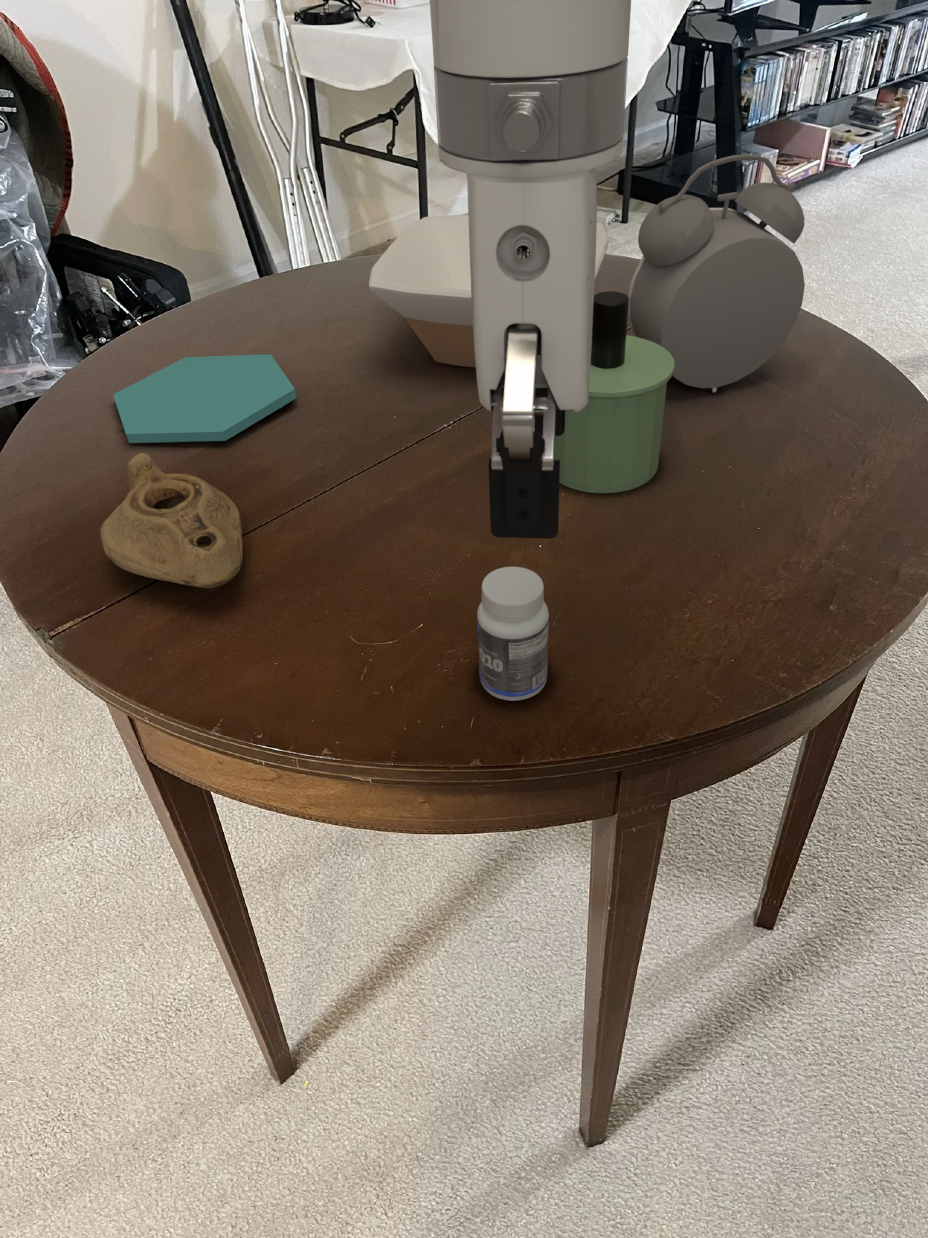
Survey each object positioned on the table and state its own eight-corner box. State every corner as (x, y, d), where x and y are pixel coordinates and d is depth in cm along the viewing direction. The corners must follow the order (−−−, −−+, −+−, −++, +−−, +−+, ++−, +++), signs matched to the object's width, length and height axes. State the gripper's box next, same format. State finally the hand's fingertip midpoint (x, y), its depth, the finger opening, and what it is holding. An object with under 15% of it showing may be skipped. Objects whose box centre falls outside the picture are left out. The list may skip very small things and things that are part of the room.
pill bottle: (468, 667, 66) (463, 573, 60) (528, 648, 67) (528, 554, 61) (497, 711, 62) (494, 616, 57) (559, 690, 64) (562, 594, 58)
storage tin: (576, 425, 91) (580, 332, 85) (675, 451, 87) (687, 355, 81) (523, 474, 85) (523, 377, 79) (627, 505, 80) (636, 405, 74)
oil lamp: (193, 638, 69) (166, 552, 64) (84, 564, 77) (52, 482, 72) (303, 568, 75) (286, 484, 70) (191, 506, 83) (169, 426, 78)
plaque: (84, 452, 93) (275, 449, 90) (77, 434, 92) (271, 431, 89) (149, 373, 106) (318, 368, 103) (144, 356, 105) (314, 351, 102)
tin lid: (578, 335, 86) (580, 264, 82) (694, 360, 81) (703, 285, 77) (515, 385, 79) (514, 309, 75) (638, 416, 74) (645, 337, 70)
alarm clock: (750, 352, 102) (786, 132, 88) (795, 385, 96) (842, 154, 81) (613, 379, 98) (628, 154, 84) (651, 415, 92) (674, 179, 78)
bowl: (362, 386, 100) (350, 288, 93) (423, 298, 118) (417, 210, 111) (582, 401, 95) (587, 299, 88) (611, 307, 113) (616, 216, 106)
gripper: (629, 172, 30) (603, 586, 41) (621, 67, 43) (603, 402, 54) (402, 177, 31) (436, 580, 42) (461, 72, 44) (476, 401, 55)
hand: (530, 480), depth 48 cm, fingers open, 9 cm apart
